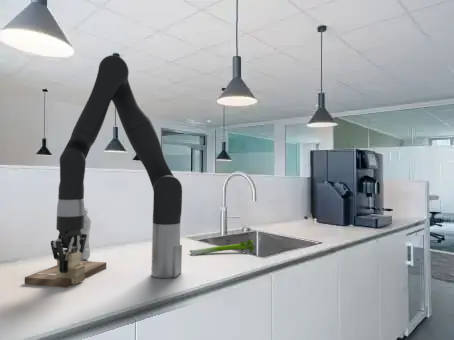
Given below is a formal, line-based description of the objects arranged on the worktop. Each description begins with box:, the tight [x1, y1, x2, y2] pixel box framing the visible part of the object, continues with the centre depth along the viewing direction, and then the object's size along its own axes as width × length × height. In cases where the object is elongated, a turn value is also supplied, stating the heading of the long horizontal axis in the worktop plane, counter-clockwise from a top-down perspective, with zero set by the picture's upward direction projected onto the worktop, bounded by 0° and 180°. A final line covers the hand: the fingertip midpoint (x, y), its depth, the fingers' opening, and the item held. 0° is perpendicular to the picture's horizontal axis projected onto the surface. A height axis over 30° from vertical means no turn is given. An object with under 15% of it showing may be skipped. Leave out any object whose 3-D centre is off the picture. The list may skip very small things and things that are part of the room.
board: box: [24, 260, 107, 289], centre depth 104 cm, size 14×21×2 cm, turn 170°
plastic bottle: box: [79, 207, 92, 261], centre depth 123 cm, size 6×7×20 cm
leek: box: [189, 238, 256, 257], centre depth 140 cm, size 6×7×30 cm
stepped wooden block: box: [56, 251, 85, 285], centre depth 97 cm, size 8×4×8 cm, turn 80°
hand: (68, 270), depth 97 cm, fingers closed on stepped wooden block, 4 cm apart
